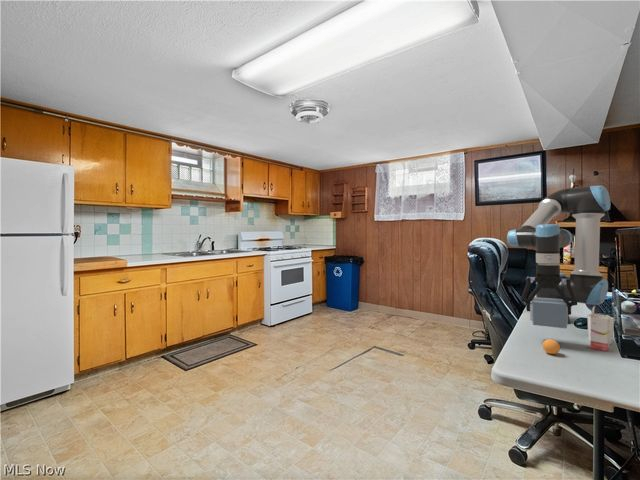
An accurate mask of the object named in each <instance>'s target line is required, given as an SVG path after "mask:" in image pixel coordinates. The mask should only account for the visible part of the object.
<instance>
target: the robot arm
mask: <svg viewBox="0 0 640 480" xmlns="http://www.w3.org/2000/svg"><path fill="white" fill-rule="evenodd" d="M609 210H611V197H610V193H609V191H608V190H607V188H606V187H605V186H604V185H588V186H580V187H569V188H562V189H559V190H556V191H554V192H552V193H550V194H549V195H547V196H545V197H543V199H542V200H540V202H539V204H538V205H537V208H536V210H535V211H534V212H533V213H532V214H531V215H530V216H529V218H527V219H526V221H525V222H524V223H523V224H522V225H521V226H520V227H519V228H518V229H511V230H508V232H507V235H506V240H507V241H506V242H507V244H508V245H509V246H510V247H515V248H517V247H518V248H535V263H536V265H535V276H534V277H533V276H526V284H525V287H524V289H523V291H522V295H521V298H520V300H521V302H524V303H525V305H526V306H525V307H526V308H525V310H526V311H527V312H529V321H531V322H532V321H533V315H532V303H531V301H532V300H533V298H534V297H538V298H553V299H563V300H564V302H565V303H566V304H567V325H568V324H570V323H571V317H570V316H571V315H572V307H573V306H578V304H585V305H586V304H587V305H593V306H600V305H602V304H603V303H604V301H605V300H606V299H607V295H608V291H609V281H608V280H606V279H605V278H604V274H602V273H601V272H600V271H599V267H600V266H599V265H600V239H601V237H600V236H601V235H600V234H601V218H603V217H605V215H606V212H607V211H609ZM565 213H571V217H573V218H574V219H575V238H574V239H575V240H574V243H575V244H574V270H572V271H571V272H569V276H566V275H567V274H566V273H564V272H563V273H561V266H560V265H559V264H560V263H561V261H560V259H561V258H560V257H561V255H560V254H561V253H560V252H561V248H562V249H563V248H565V247H568V246H569V245H570V244H571V243H573V242H572V241H573V234H572V233H571V232H570V231H569V230H567V229H564V228H560V224H558V223H557V224H556V223H552V224H549V223H550V222H551V221H552V219H553V218H554V217H557V216H559V215H560V214H565ZM534 281H535V287H534V289H533V291H531V293H530V294H529V296H528V298H527V295H528V292H529V291H530V288H531V285H532V284H533V282H534Z"/></svg>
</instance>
